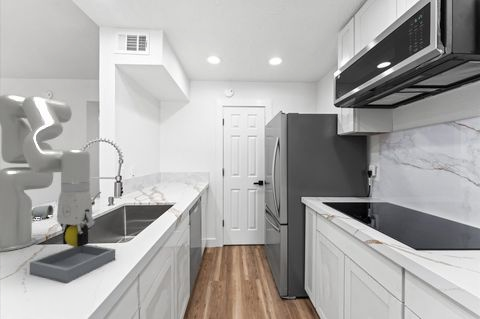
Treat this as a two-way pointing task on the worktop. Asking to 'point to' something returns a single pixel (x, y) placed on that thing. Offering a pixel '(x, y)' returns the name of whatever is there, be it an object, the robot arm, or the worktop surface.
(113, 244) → the worktop surface
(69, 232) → the lemon
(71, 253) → the tray
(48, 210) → the ceramic mug
